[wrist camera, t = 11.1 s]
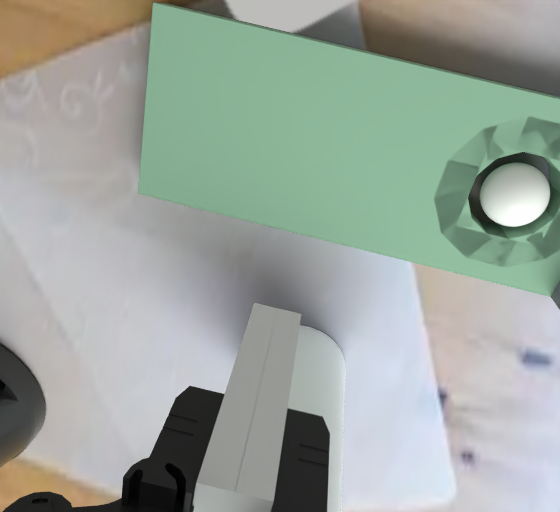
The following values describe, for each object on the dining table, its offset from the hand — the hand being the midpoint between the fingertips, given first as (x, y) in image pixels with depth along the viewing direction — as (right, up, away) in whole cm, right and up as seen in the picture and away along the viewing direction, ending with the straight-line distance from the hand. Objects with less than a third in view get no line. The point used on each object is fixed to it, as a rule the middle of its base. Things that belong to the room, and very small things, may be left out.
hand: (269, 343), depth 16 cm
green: (+7, +10, +17) cm, 21 cm away
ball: (+15, +7, +15) cm, 23 cm away
